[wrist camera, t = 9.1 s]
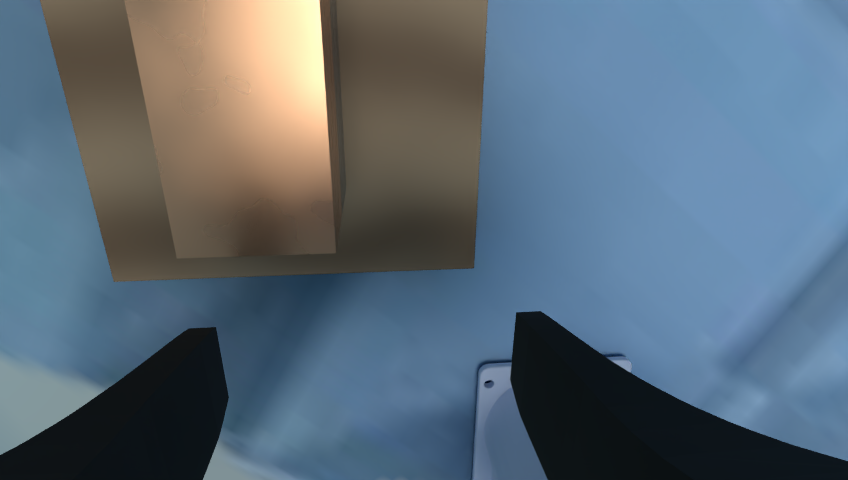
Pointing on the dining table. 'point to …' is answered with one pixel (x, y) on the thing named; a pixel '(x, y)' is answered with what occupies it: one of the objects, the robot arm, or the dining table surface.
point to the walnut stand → (362, 128)
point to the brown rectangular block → (244, 122)
